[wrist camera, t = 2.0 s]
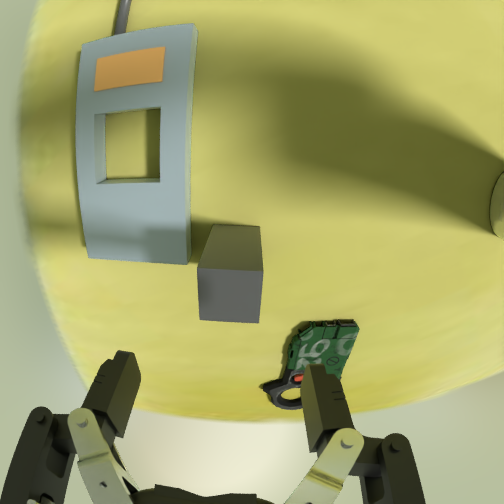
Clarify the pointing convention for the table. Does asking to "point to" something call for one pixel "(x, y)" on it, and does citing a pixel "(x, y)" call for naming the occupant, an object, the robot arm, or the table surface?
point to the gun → (313, 357)
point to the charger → (231, 275)
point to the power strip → (171, 142)
